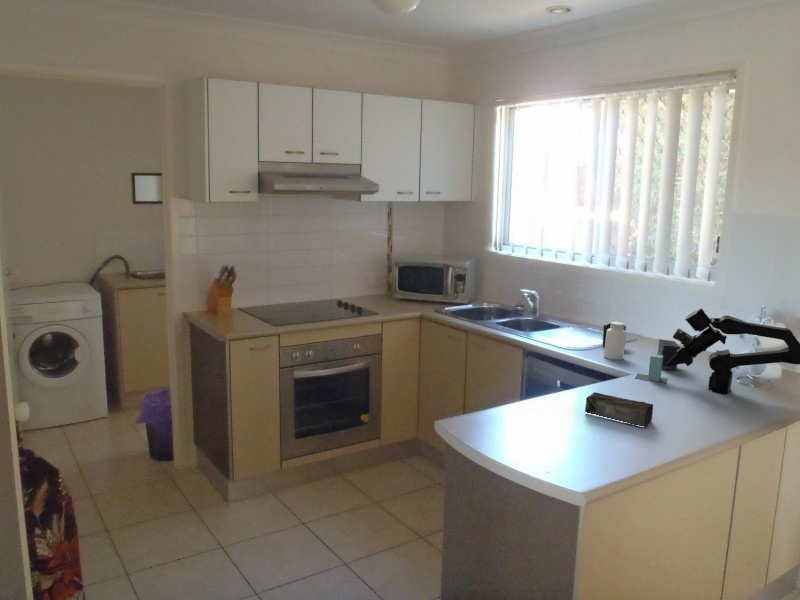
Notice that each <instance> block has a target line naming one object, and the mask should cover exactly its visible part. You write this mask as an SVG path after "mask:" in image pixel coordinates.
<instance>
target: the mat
mask: <svg viewBox="0 0 800 600" xmlns="http://www.w3.org/2000/svg"><path fill="white" fill-rule="evenodd" d="M634 380H639V381H645V382H652V383H656V384H663V385H666V384H667V381H668V380H669V378H667V377H662V376H661V378H660V380H659V381H655V380H649V379H648V374H645V373H644V374H643V373H636V375H635V377H634Z"/></svg>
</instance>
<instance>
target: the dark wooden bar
mask: <svg viewBox="0 0 800 600" xmlns="http://www.w3.org/2000/svg"><path fill="white" fill-rule="evenodd" d="M585 400H586V401H585V409H584V413H585V412H587V413H591V414H596V415H599V416H603V417H607V418H611V419H615V420H619V421H623V422H627V423H630V424H634V425H639V426H644V427H645V428H646V427H648V426H649V425H648V424H649V423H650V422H651V423H652V419H653V411H654V405H653V403H648V402H645V401H638V400H633V399H627V398H623V397H617V396H613V395H609V394H608V395H607V394H604V393H599V392H592V393H591V394H589V395H588V396H586V398H585ZM651 423H650V424H651Z"/></svg>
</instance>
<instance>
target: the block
mask: <svg viewBox="0 0 800 600" xmlns="http://www.w3.org/2000/svg"><path fill="white" fill-rule="evenodd" d="M662 363H663V356H662V355H657V354H655V353H651V355H650V359H649V366H648V367H649V368H648V374H647V375H648V379H649V380H655V381H659V380H660V378H661V377H662V371H663V370H662Z"/></svg>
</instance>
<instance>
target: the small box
mask: <svg viewBox="0 0 800 600" xmlns="http://www.w3.org/2000/svg"><path fill="white" fill-rule="evenodd" d="M679 346H680V345H678V343H676V341H675V340H671V339H670V340H668V339H660V338H659V339H658V346H657V354H656V355H662V356H663V363H662V371H669V372H677V368H678V365H672V366H668V365H667V363H668V362H669V361H670V360H671V359H672V358H673V357H674V356H675V354H676V352H677V349H678V347H679Z"/></svg>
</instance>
